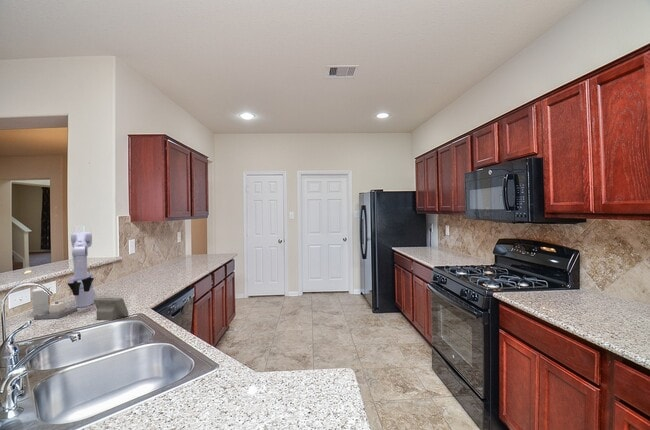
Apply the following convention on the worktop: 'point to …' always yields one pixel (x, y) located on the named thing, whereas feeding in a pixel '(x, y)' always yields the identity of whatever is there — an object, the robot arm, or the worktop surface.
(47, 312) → the socket plate
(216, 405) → the worktop surface
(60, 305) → the plug
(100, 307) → the digital clock
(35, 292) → the small box
